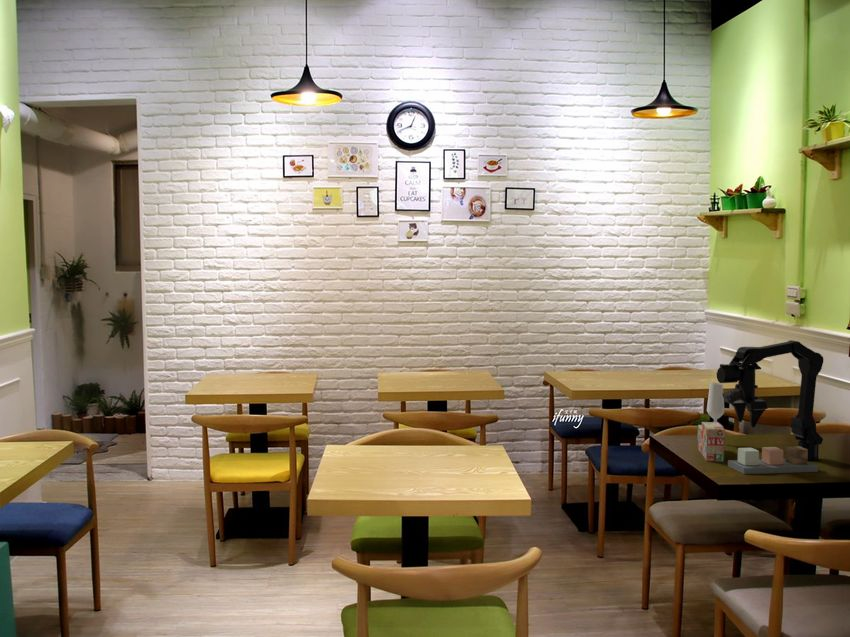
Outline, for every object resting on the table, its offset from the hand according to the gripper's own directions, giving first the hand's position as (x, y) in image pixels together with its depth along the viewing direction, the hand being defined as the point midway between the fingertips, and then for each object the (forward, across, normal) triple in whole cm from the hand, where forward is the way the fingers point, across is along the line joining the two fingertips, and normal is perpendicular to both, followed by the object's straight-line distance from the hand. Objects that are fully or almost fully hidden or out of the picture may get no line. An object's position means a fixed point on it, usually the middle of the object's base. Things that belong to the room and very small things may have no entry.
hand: (746, 424), depth 284 cm
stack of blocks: (+14, -11, -8) cm, 19 cm away
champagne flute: (+14, -29, +2) cm, 32 cm away
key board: (+14, +11, +4) cm, 18 cm away
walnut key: (+12, +11, +13) cm, 20 cm away
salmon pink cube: (+11, +11, +4) cm, 16 cm away
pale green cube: (+11, +11, -5) cm, 17 cm away
